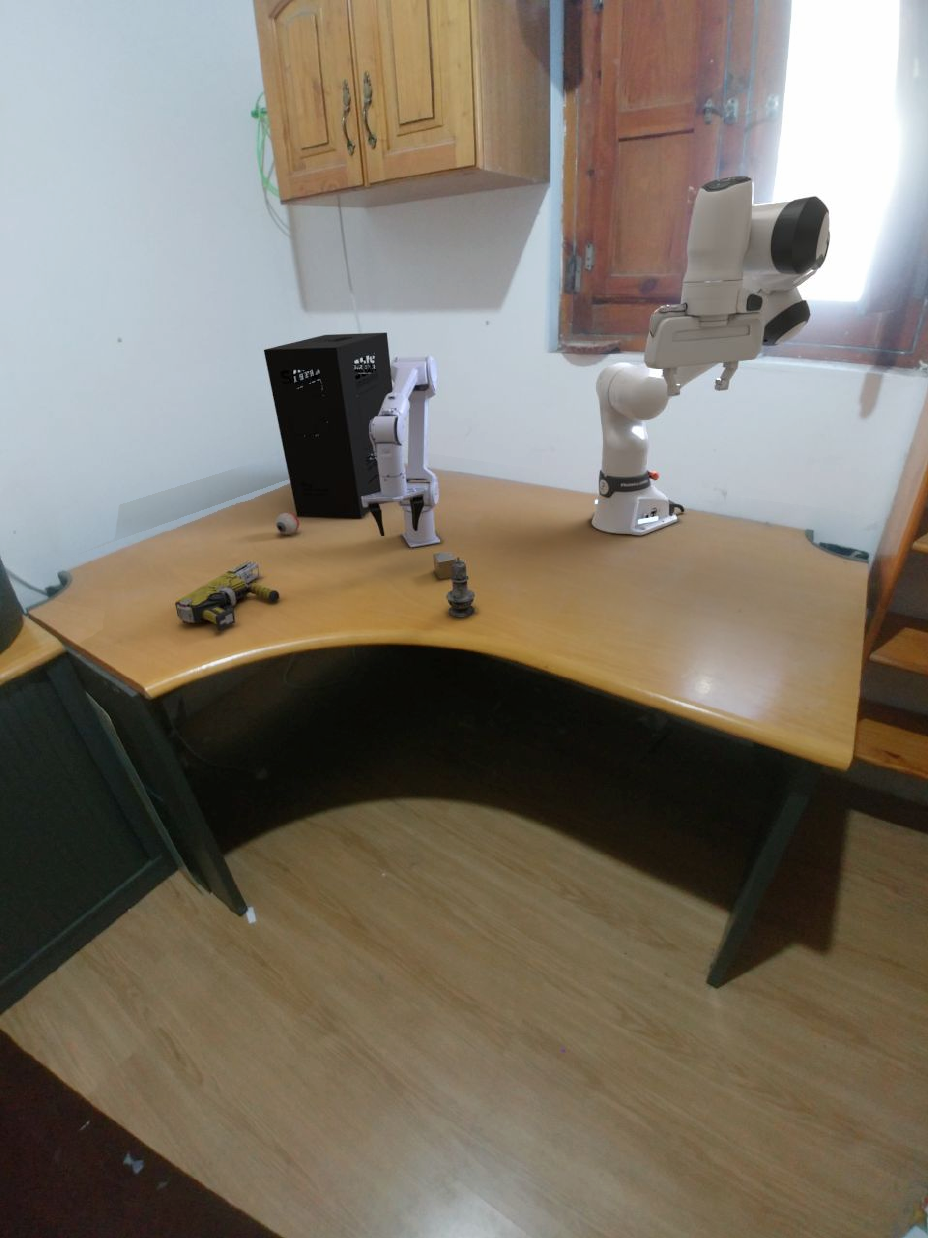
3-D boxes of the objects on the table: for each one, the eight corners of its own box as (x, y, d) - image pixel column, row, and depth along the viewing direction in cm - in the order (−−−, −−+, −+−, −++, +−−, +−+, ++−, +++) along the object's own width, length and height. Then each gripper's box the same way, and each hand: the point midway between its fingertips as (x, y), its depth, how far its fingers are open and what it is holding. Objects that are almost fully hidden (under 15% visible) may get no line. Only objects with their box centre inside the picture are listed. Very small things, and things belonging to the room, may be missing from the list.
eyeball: (273, 537, 164) (268, 516, 161) (287, 528, 169) (282, 508, 166) (291, 539, 161) (286, 518, 158) (305, 530, 166) (301, 510, 163)
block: (439, 579, 136) (438, 561, 134) (434, 571, 140) (433, 554, 138) (457, 576, 137) (455, 558, 135) (451, 568, 141) (450, 551, 139)
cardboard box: (361, 518, 173) (336, 347, 150) (296, 515, 177) (263, 349, 155) (402, 478, 204) (386, 332, 182) (346, 477, 209) (325, 334, 186)
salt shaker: (472, 618, 120) (470, 563, 114) (444, 617, 121) (439, 562, 115) (478, 604, 125) (475, 551, 119) (450, 603, 126) (446, 550, 120)
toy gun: (300, 570, 137) (245, 558, 141) (232, 617, 117) (169, 602, 121) (302, 588, 139) (247, 576, 143) (235, 638, 119) (173, 622, 123)
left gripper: (361, 483, 125) (370, 543, 132) (429, 473, 129) (434, 533, 136) (356, 474, 131) (365, 532, 138) (421, 465, 135) (426, 522, 142)
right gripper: (663, 306, 91) (653, 402, 98) (776, 297, 96) (759, 389, 103) (641, 305, 97) (633, 395, 103) (750, 297, 101) (735, 384, 108)
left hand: (398, 532), depth 137 cm, fingers open, 7 cm apart
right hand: (697, 392), depth 103 cm, fingers open, 8 cm apart
